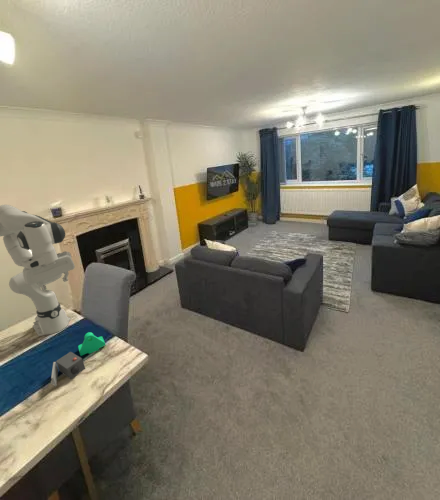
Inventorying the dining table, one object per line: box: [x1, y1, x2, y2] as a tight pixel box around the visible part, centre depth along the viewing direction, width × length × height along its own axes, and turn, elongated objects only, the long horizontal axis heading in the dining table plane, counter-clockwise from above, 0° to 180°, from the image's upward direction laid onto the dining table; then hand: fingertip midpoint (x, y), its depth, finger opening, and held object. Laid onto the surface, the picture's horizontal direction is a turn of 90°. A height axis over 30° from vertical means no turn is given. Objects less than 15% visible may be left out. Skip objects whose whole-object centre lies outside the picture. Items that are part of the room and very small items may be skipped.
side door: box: [50, 361, 59, 387], centre depth 117 cm, size 11×2×5 cm, turn 27°
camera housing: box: [55, 351, 86, 380], centre depth 122 cm, size 11×7×7 cm, turn 57°
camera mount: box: [77, 331, 106, 357], centre depth 135 cm, size 12×8×10 cm, turn 124°
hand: (55, 285), depth 121 cm, fingers open, 8 cm apart
